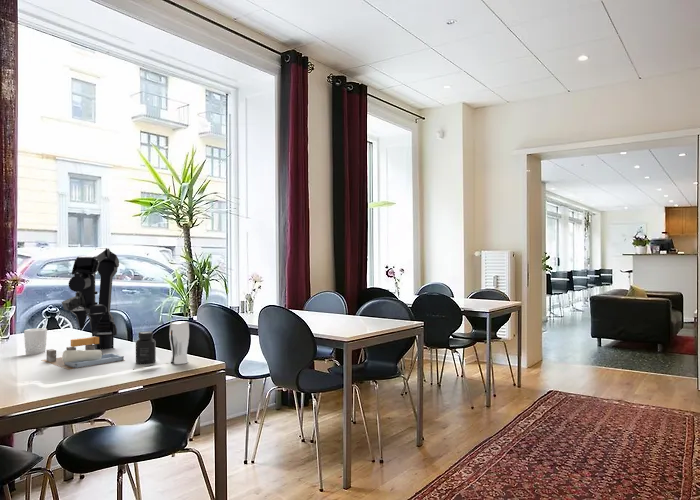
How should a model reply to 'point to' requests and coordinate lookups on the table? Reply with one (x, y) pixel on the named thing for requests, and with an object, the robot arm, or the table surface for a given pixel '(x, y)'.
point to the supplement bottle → (145, 348)
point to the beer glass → (179, 341)
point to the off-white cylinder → (81, 355)
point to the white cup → (35, 340)
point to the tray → (96, 361)
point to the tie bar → (84, 341)
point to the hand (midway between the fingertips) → (87, 330)
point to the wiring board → (59, 361)
